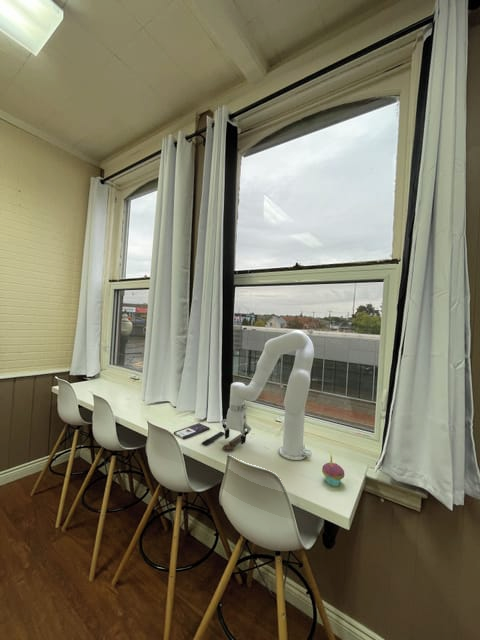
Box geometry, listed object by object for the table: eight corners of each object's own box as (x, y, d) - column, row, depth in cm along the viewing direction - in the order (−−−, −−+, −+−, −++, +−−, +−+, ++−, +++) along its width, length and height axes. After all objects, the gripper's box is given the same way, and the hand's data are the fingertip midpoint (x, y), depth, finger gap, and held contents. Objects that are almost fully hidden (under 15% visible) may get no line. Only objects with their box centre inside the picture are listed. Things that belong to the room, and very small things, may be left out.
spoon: (237, 438, 142) (237, 433, 142) (245, 440, 140) (245, 435, 140) (221, 449, 129) (221, 444, 129) (229, 452, 126) (229, 447, 126)
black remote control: (220, 432, 148) (220, 431, 148) (224, 434, 146) (224, 432, 146) (201, 444, 133) (201, 442, 133) (206, 445, 132) (206, 444, 132)
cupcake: (335, 491, 101) (336, 460, 101) (317, 480, 107) (318, 450, 108) (348, 484, 106) (349, 454, 106) (329, 473, 112) (331, 445, 113)
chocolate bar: (209, 427, 152) (184, 437, 138) (209, 429, 152) (184, 439, 138) (199, 423, 157) (174, 431, 143) (198, 424, 157) (173, 433, 143)
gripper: (255, 408, 135) (253, 442, 135) (226, 402, 143) (224, 433, 143) (248, 412, 128) (246, 448, 128) (218, 405, 137) (216, 438, 137)
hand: (234, 440), depth 136 cm, fingers open, 9 cm apart
